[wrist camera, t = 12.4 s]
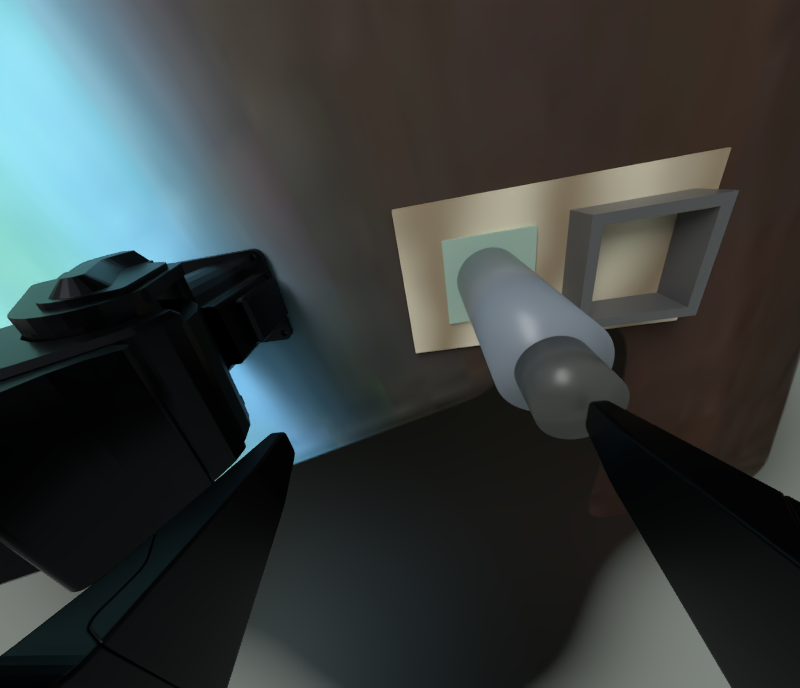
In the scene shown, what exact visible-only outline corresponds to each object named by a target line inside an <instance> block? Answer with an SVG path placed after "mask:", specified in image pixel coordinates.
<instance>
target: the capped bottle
mask: <svg viewBox="0 0 800 688" xmlns="http://www.w3.org/2000/svg"><path fill="white" fill-rule="evenodd" d="M457 286H458V290H459V293H460V296H461V298H462V301H463V303H464V306H465V308H466V311H467V313H468V316H469V319H470V321H471V324H472V326H473V329H474V331H475V334H476V336H477V339H478V342H479V344H480V347H481V349H482V352H483V354H484V357H485V359H486V362H487V364H488V367H489V370H490V372H491V375H492V377H493V380H494V382H495V385H496V387H497V389H498V391H499V393H500V394H501V396H503V398H504V399H505V400H506V401H508V402H509V403H511V404H512V405H514V406H516V407H519V408H522V409H525V410H529V411H531V413H532V415H533V417H534V419H535V421H536V424H537V425H538V427H539V428H540V429H541V430H542V431H543V432H545V433H546V434H548V435H550V436H553V437H556V438H560V439H580V438H585V437H589V434H588V432H587V429H586V418H587V413H588V407H589V404H590V403H591V402H592V401H601V400H607V401H610V402H612V403H614V404H616V405H618V406H620V407H621V408H623V409H625V410H626V409H627V407H628V404H629V399H630V394H629V389H628V387H627V385H626V384H625V382H624V381H623V380H622V379H621V378H620V377H619V376H618V375H617V374H616V373H615V372H613V371H612V370H611V369H612V365H613V362H614V356H615V354H614V353H615V352H614V345H613V342H612V339H611V337H610V336H609V334H608V333H607V331H606V330H605V329H604V328H603V327H602V326H600V325H599V324H598V323H597V322H595V321H594V320H593V319H592V318H590V317H589V316H588V315H587V314H585V313H584V312H583V311H582V310H581V309H579V308H578V307H577V306H576V305H574V304H573V303H572V302H571V301H569V300H568V299H567V298H566V297H565V296H563V295H562V294H561V293H560V292H558V291H557V290H556V289H555V288H553V287H552V286H551V285H550V284H548V283H547V282H546V281H545V280H544V279H542V278H541V277H540V276H539V275H537V274H536V273H535V272H534V271H532V270H531V269H530V268H529V267H528V266H526V265H525V264H524V263H523V262H521V261H520V260H519V259H518V258H516V257H515V256H514V255H513V254H511V253H510V252H509V251H507V250H505V249H502V248H497V247H490V248H485V249H481V250H479V251H477V252H475V253H473V254H472V255H471V256H470V257H468V258H467V259H466V261H465V262H464V263H463V264H462V266H461V268H460V270H459V273H458V278H457Z"/></svg>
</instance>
